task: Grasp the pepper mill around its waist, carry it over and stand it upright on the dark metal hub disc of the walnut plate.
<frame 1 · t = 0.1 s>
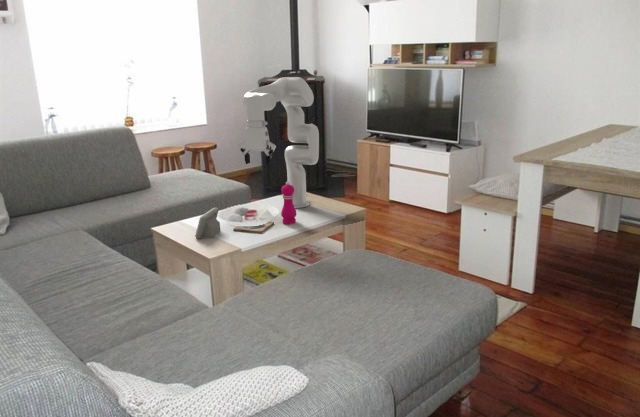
hand: (257, 163, 233), 31 cm above the table, fingers open, 9 cm apart
pepper mill: (289, 223, 254), on the table
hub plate: (254, 227, 248), on the table
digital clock: (208, 234, 240), on the table
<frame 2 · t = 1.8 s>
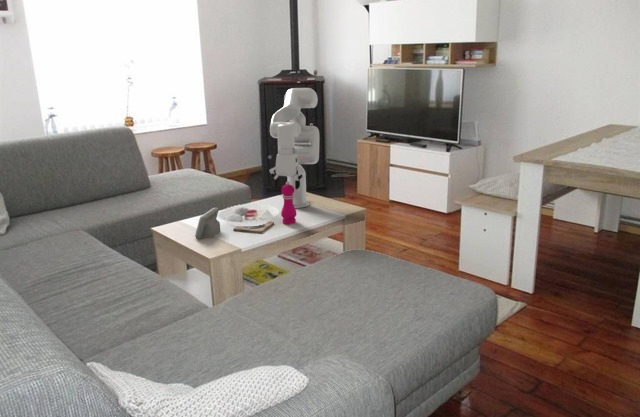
hand: (287, 188, 248), 17 cm above the table, fingers open, 9 cm apart
nothing on the table moved.
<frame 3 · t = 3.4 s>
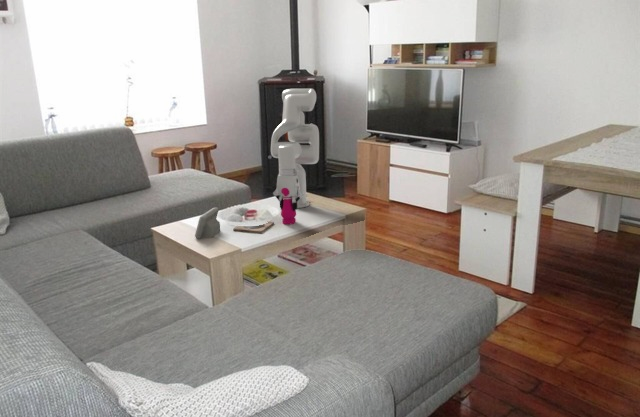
hand: (288, 209, 252), 7 cm above the table, fingers closed on pepper mill, 5 cm apart
pepper mill: (289, 222, 254), on the table, touching gripper
everything else where it was.
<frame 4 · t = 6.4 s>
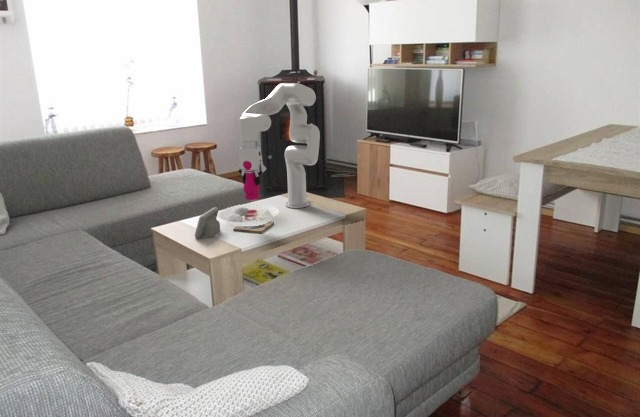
hand: (251, 184, 242), 21 cm above the table, fingers closed on pepper mill, 5 cm apart
pepper mill: (252, 198, 244), point 14 cm above the table, touching gripper
everything else where it was.
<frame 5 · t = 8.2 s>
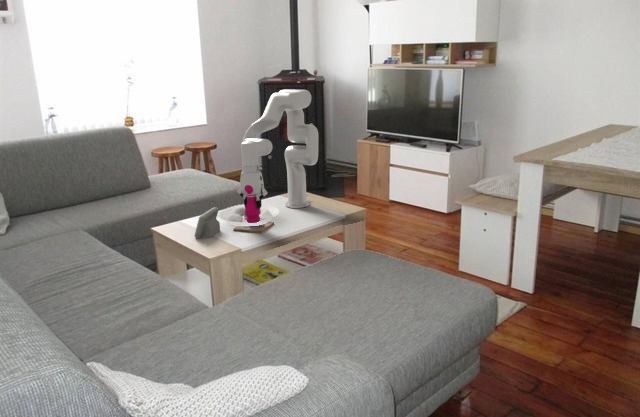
hand: (252, 207, 245), 10 cm above the table, fingers closed on pepper mill, 5 cm apart
pepper mill: (253, 221, 247), point 3 cm above the table, touching gripper
everything else where it was.
when the fingers open (9 cm above the table, at t = 9.2 s): pepper mill moves 1 cm, resting on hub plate.
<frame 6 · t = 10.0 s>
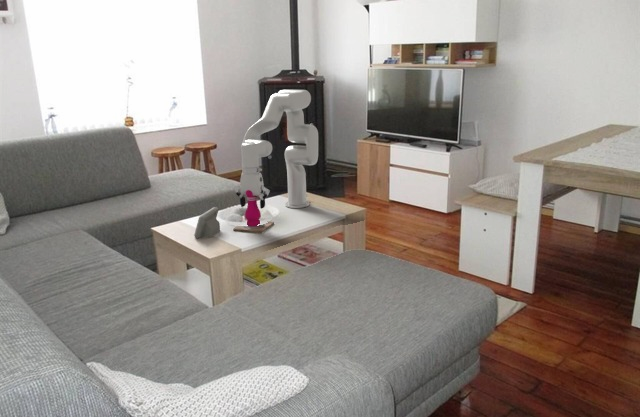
hand: (252, 207, 245), 10 cm above the table, fingers open, 9 cm apart
pepper mill: (253, 225, 248), point 1 cm above the table, touching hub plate
everything else where it was.
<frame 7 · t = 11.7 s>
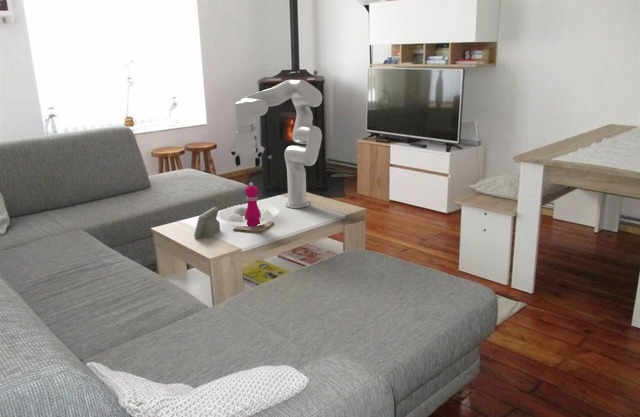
hand: (247, 165, 248), 27 cm above the table, fingers open, 9 cm apart
nothing on the table moved.
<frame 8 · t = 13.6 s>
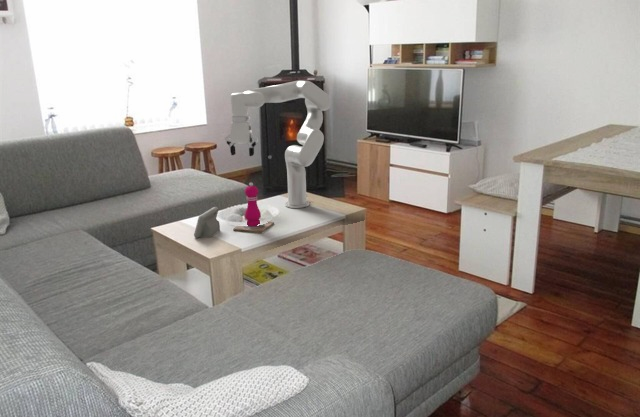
hand: (242, 155, 257), 30 cm above the table, fingers open, 9 cm apart
at the end: pepper mill 0.5 cm from the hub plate (horizontally); pepper mill tilted 0°; the gripper is holding nothing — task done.
